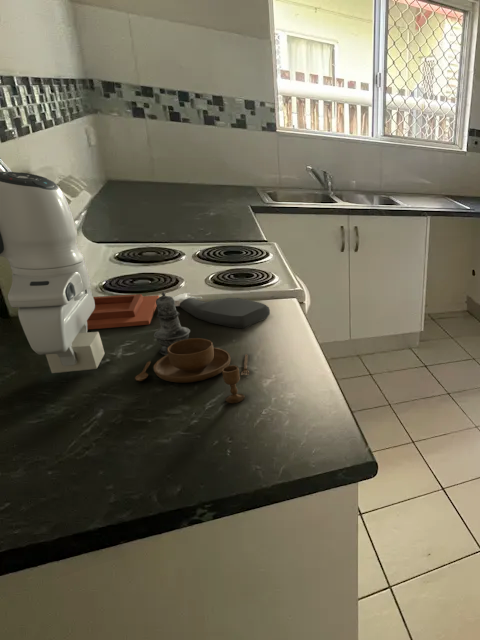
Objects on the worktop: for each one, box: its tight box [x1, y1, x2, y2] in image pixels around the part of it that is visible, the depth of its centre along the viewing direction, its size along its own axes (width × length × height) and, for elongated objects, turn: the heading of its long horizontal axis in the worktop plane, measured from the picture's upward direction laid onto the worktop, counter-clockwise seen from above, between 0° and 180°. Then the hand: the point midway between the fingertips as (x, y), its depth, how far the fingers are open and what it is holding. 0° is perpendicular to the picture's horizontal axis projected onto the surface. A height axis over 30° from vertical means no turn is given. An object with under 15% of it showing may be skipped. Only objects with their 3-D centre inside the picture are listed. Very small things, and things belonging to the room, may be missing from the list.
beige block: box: [45, 331, 106, 374], centre depth 82 cm, size 6×6×4 cm
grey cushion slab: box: [171, 291, 271, 329], centre depth 110 cm, size 3×11×24 cm
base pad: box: [87, 293, 160, 331], centre depth 104 cm, size 16×16×2 cm
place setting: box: [134, 337, 250, 404], centre depth 83 cm, size 18×20×6 cm
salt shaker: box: [153, 291, 191, 356], centre depth 91 cm, size 6×6×12 cm
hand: (76, 354), depth 82 cm, fingers closed on beige block, 6 cm apart
